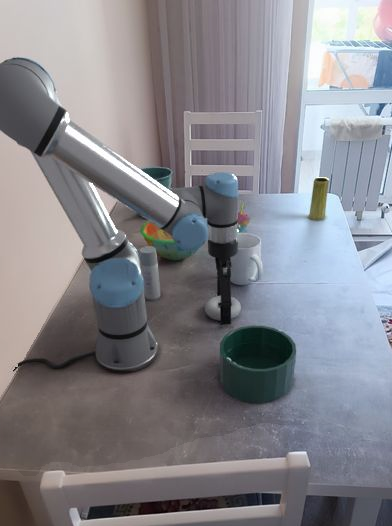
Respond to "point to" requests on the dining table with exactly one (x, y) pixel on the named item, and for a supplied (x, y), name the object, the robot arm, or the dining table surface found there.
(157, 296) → the container
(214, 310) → the donut
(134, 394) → the dining table surface
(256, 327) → the pot
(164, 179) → the flower pot
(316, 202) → the vase
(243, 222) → the cupcake
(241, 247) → the mug
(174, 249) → the bowl
